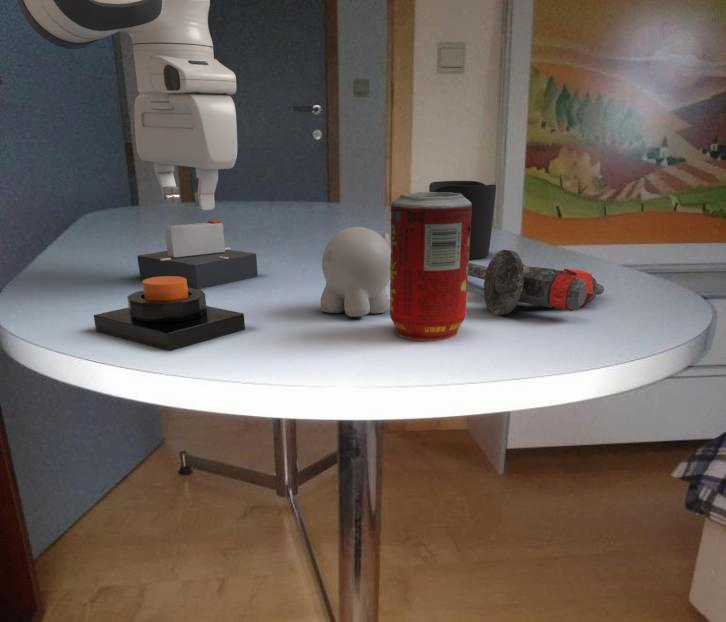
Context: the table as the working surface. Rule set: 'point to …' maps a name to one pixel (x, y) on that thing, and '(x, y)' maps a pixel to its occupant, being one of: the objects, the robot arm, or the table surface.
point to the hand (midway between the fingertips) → (187, 205)
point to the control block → (169, 321)
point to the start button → (165, 288)
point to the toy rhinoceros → (356, 272)
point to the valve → (532, 285)
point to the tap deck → (200, 267)
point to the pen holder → (474, 211)
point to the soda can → (429, 264)
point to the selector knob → (195, 239)
